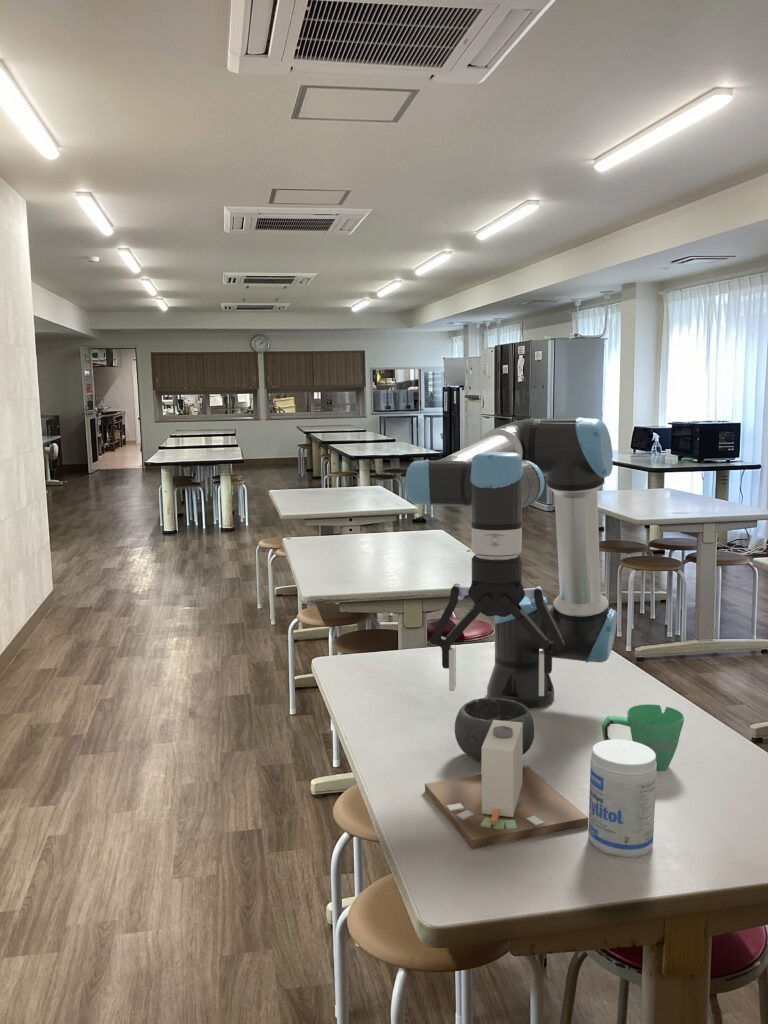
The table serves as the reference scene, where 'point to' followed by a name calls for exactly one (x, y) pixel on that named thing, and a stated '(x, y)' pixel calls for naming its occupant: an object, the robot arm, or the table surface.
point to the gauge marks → (487, 821)
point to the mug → (651, 730)
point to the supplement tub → (622, 797)
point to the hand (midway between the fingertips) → (496, 690)
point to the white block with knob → (502, 769)
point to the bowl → (489, 723)
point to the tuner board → (531, 802)
